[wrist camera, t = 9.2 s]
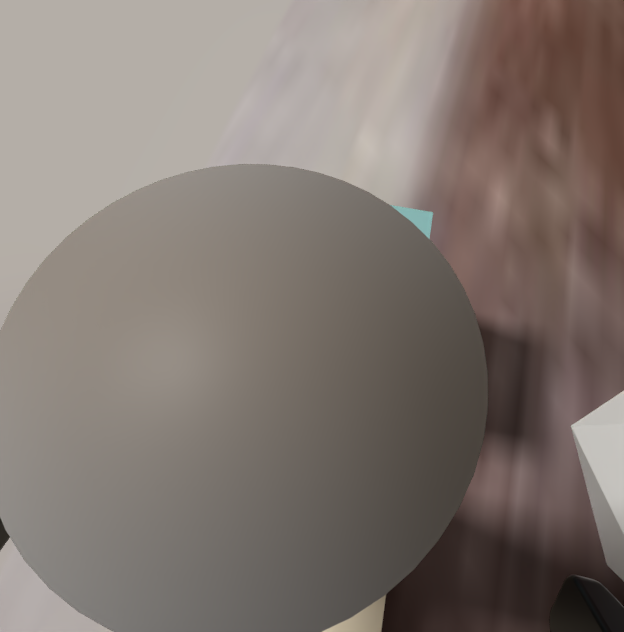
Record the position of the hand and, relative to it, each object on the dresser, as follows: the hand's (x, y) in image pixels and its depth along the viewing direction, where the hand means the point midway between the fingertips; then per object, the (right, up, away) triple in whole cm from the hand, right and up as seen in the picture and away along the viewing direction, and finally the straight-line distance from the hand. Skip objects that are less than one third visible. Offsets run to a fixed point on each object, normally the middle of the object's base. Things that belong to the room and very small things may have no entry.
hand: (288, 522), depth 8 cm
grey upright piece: (0, -3, +8) cm, 8 cm away
